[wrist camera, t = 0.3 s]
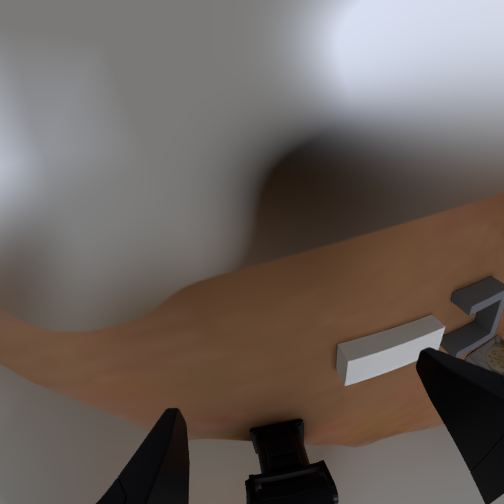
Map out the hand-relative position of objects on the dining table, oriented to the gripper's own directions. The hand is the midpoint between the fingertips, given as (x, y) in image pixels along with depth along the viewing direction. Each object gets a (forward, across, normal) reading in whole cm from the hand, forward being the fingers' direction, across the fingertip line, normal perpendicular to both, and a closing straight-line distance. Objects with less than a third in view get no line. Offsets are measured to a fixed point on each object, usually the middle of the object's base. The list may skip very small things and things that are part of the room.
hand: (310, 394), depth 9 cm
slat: (+14, -13, +12) cm, 23 cm away
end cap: (+14, -25, +12) cm, 31 cm away
